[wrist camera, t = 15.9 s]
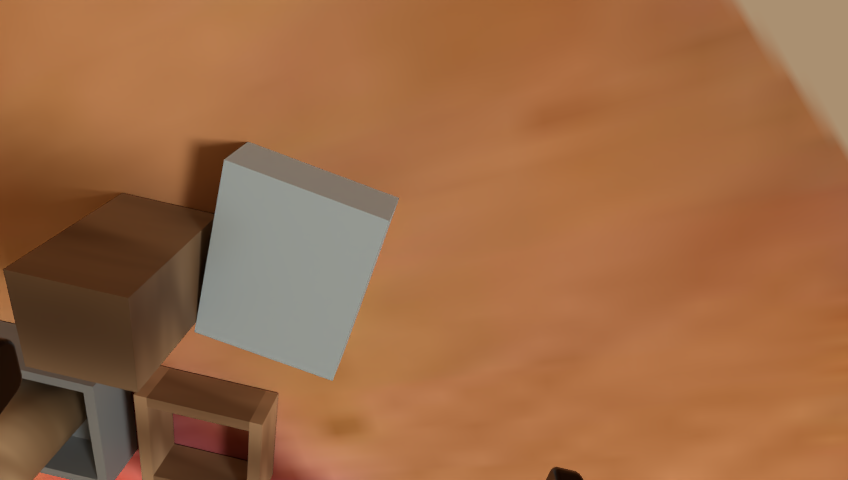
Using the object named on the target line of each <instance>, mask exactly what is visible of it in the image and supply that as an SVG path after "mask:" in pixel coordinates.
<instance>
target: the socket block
mask: <svg viewBox="0 0 848 480" xmlns="http://www.w3.org/2000/svg"><path fill="white" fill-rule="evenodd" d="M134 405H135V414H136V424H137V434H138V443H139V453H140V462H141V472H142V480H270V479H271V477H272V474H273V461H274V447H275V433H276V420H277V406H278V393H275V392H271V391H267V390H262V389H258V388H254V387H249V386H245V385H241V384H237V383H232V382H228V381H224V380H219V379H215V378H211V377H207V376H202V375H198V374H194V373H189V372H185V371H181V370H177V369H172V368H168V367H164V366H159V367H158V369H157V370H156V371H155V372H154V374H153V375H152V376H151V377H150V378H149V380H148V381H147V382H146V383H145V384H144V386H143V387H142V388H141V389H140V391H139V392H138V393H137V392H135V393H134ZM173 413H174V414H178V415H182V416H187V417H191V418H195V419H199V420H204V421H208V422H212V423H216V424H221V425H225V426H229V427H233V428H238V429H242V430H246V431H249V446H248V461H245V460H241V459H237V458H232V457H228V456H224V455H220V454H215V453H211V452H207V451H203V450H198V449H194V448H190V447H186V446H182V445H177V444H174V429H173Z"/></svg>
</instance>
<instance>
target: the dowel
mask: <svg viewBox="0 0 848 480" xmlns="http://www.w3.org/2000/svg"><path fill="white" fill-rule="evenodd" d="M86 419H87V412H86V406H85V400H84V393H83V392H79V391H74V390H70V389H66V388H62V387H57V386H53V385H49V384H45V383H40V382H36V381H32V380H28V379H23V378H22V381H21V385H20V387H19V389H18V391H17V392H16V394H15V395H14V397H13V398H12V399H11V401H10V402H9V403H8V405H7V406H6V407H5V409H4V410H3V412H2V413H1V414H0V480H33V479H34V478H35V477H36V476H37V475H38V473H39V472H40V471H41V470H42V469H43V468H44V467H45V466H46V464H47V463H48V462H49V461H50V460H51V459H52V458H53V456H54V455H55V454H56V453H57V452H58V451H59V450H60V449H61V447H62V446H63V445H64V444H65V443H66V442H67V441H68V440H69V438H70V437H71V436H72V435H73V434H74V433H75V432H76V430H77V429H78V428H79V427H80V426H81V425H82V424H83V423H84V421H85V420H86Z"/></svg>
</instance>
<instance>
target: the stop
mask: <svg viewBox="0 0 848 480" xmlns="http://www.w3.org/2000/svg"><path fill="white" fill-rule="evenodd" d="M214 215H215V214H213V213H208V212H204V211H199V210H195V209H190V208H186V207H182V206H177V205H173V204H168V203H164V202H159V201H155V200H151V199H146V198H142V197H137V196H133V195H128V194H124V193H122V194H120V195H118V196H117V197H115V198H114V199H112V200H111V201H109V202H107V203H106V204H104V205H103V206H101V207H100V208H98V209H97V210H95V211H93V212H92V213H90V214H89V215H87V216H86V217H84V218H82V219H81V220H79V221H78V222H76V223H75V224H73V225H72V226H70V227H68V228H67V229H65V230H64V231H62V232H61V233H59V234H57V235H56V236H54V237H53V238H51V239H50V240H48V241H47V242H45V243H43V244H42V245H40V246H39V247H37V248H36V249H34V250H32V251H31V252H29V253H28V254H26V255H25V256H23V257H22V258H20V259H18V260H17V261H15V262H14V263H12V264H11V265H9V266H7V267H6V268H4V269H3V271H4V275H5V280H6V284H7V288H8V293H9V297H10V301H11V306H12V310H13V315H14V319H15V323H16V328H17V332H18V336H19V341H20V345H21V350H22V354H23V358H24V363H25V366H26V367H30V368H35V369H39V370H43V371H47V372H52V373H56V374H60V375H64V376H69V377H73V378H77V379H82V380H86V381H90V382H94V383H99V384H103V385H107V386H111V387H116V388H120V389H124V390H128V391H133V392H137V393H138V392H139V391H140V389H141V388H142V387H143V386H144V384H145V383H146V382H147V381H148V380H149V378H150V377H151V376H152V375H153V374H154V372H155V371H156V370H157V369H158V367H159V366H160V365H161V364H162V363H163V361H164V360H165V359H166V358H167V357H168V355H169V354H170V353H171V352H172V350H173V349H174V348H175V347H176V346H177V344H178V343H179V342H180V341H181V340H182V338H183V337H184V336H185V335H186V333H187V332H188V331H189V330H190V329H191V327H192V326H193V325H194V324H195V323H196V321H197V315H198V309H199V303H200V297H201V291H202V285H203V280H204V274H205V268H206V262H207V256H208V250H209V245H210V239H211V233H212V227H213V221H214Z"/></svg>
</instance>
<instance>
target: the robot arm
mask: <svg viewBox="0 0 848 480" xmlns="http://www.w3.org/2000/svg"><path fill="white" fill-rule="evenodd" d="M21 381H22V373H21V369H20V365H19V361H18V356H17V352H16V348H15V345H14V343H13V342H12V341H11V340H8V339H5V338H1V337H0V414H1V413H2V412H3V410H4V409H5V407H6V406H7V405H8V403H9V402H10V401H11V399H12V398H13V397H14V395H15V394H16V392H17V391H18V389H19V387H20V385H21ZM546 480H583V478H582V477H581V475H580V474H579V473H577V472H576V471H572V470H568V469H564V468H559V467H554V468H552V469H551V471H550V472H549V475H548V477H547V479H546Z"/></svg>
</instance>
